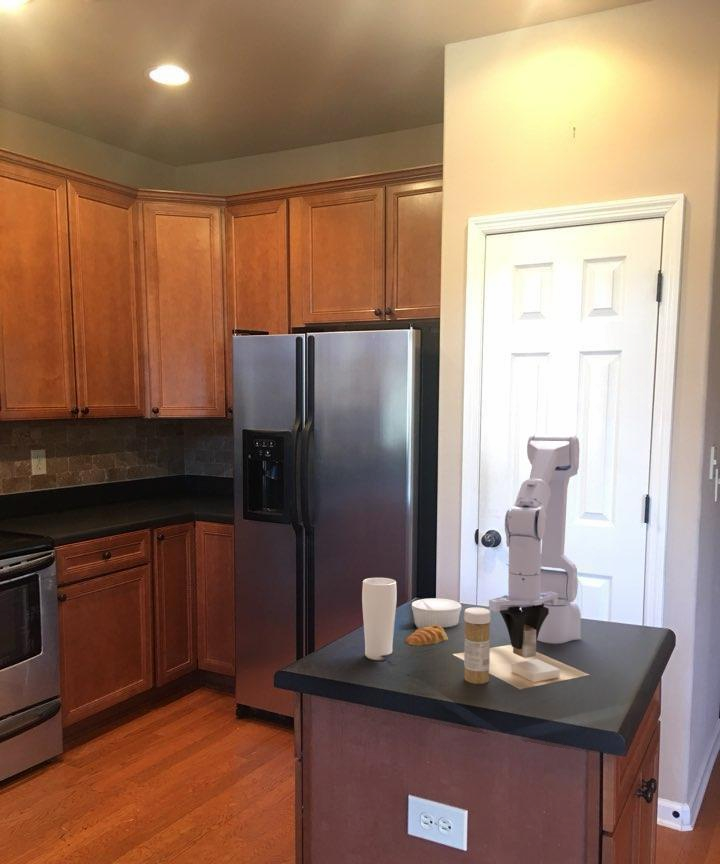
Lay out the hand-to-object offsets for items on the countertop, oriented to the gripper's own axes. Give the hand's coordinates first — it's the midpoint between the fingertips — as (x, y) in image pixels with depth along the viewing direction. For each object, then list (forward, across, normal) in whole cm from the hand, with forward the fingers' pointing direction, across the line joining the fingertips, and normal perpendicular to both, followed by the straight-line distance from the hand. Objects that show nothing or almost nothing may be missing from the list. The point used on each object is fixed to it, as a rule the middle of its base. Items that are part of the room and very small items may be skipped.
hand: (523, 646), depth 130 cm
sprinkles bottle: (+6, -11, 0) cm, 12 cm away
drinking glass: (+6, -19, +20) cm, 29 cm away
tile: (+3, 0, 0) cm, 3 cm away
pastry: (+6, -6, +23) cm, 24 cm away
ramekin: (+6, +3, +34) cm, 34 cm away
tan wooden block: (+1, 0, 0) cm, 1 cm away
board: (+5, +1, +2) cm, 6 cm away
